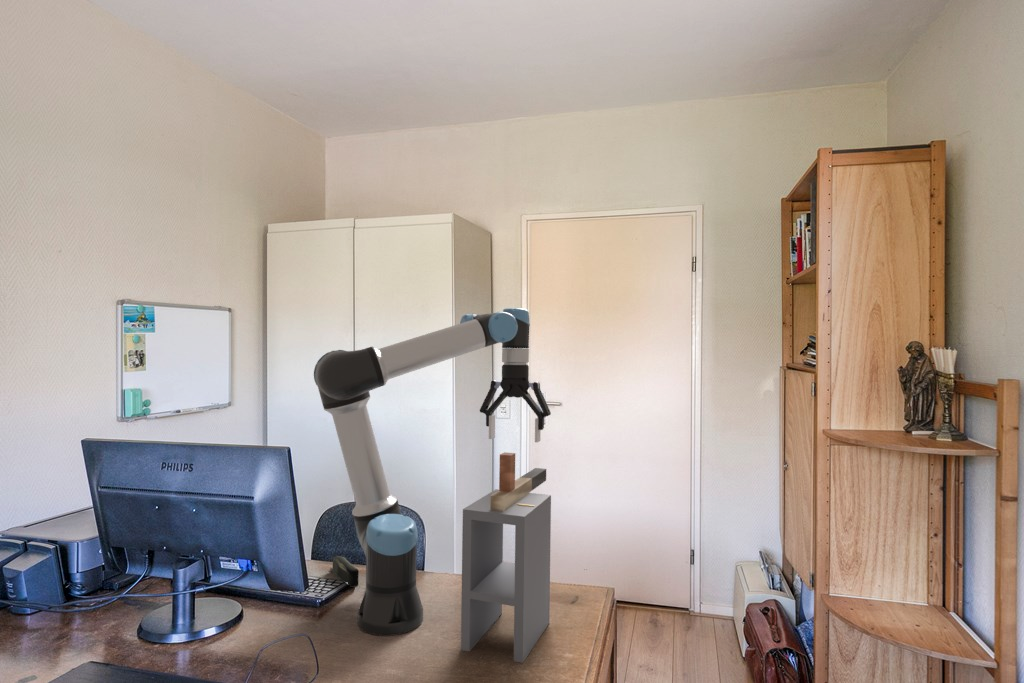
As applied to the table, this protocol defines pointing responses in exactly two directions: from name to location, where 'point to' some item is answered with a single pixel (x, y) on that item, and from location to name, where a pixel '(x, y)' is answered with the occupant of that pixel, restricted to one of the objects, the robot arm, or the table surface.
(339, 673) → the table surface
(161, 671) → the table surface
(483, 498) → the shelf
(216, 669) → the table surface
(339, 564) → the mobile phone
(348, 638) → the table surface
